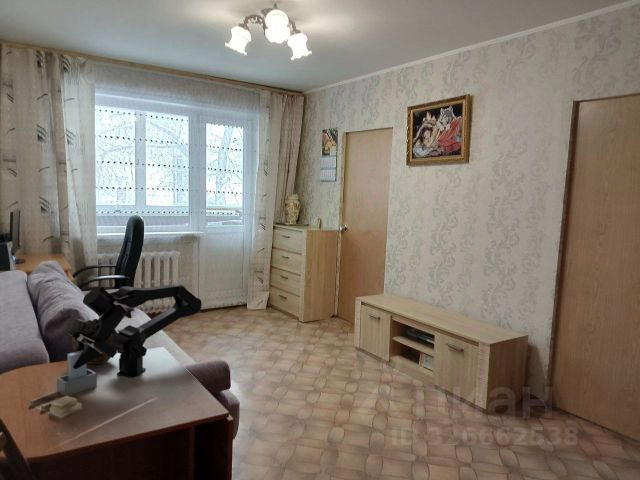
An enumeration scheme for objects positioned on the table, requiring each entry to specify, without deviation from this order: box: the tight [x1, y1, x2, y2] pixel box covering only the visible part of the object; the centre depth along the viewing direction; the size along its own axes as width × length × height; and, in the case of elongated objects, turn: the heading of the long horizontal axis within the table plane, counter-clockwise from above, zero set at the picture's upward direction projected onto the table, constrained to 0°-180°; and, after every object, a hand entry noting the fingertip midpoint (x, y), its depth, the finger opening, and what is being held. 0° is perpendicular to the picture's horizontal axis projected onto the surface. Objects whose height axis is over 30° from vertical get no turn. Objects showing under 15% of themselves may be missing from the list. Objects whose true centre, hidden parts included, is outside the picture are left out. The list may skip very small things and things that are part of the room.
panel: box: [66, 350, 88, 381], centre depth 136 cm, size 4×2×10 cm, turn 144°
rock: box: [71, 329, 118, 365], centre depth 156 cm, size 13×13×15 cm
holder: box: [56, 368, 98, 397], centre depth 137 cm, size 9×5×5 cm, turn 144°
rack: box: [28, 390, 85, 420], centre depth 126 cm, size 7×14×3 cm, turn 62°
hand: (72, 367), depth 135 cm, fingers closed on panel, 2 cm apart
